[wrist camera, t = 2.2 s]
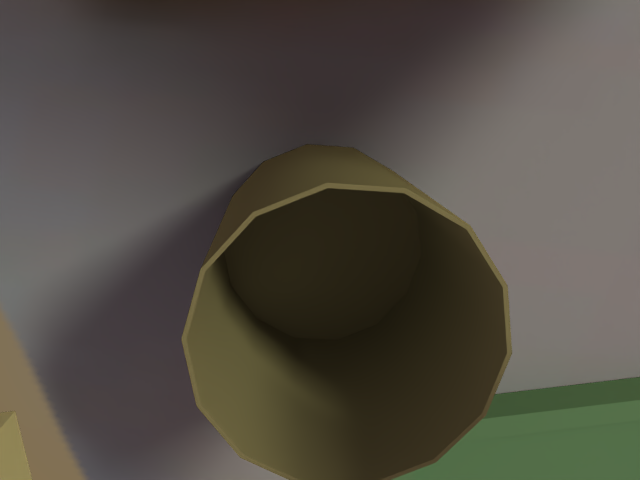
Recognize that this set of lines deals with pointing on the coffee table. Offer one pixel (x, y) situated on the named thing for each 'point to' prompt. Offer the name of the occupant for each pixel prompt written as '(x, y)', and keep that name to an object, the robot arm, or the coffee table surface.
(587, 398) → the tray
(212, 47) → the coffee table surface
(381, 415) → the cup
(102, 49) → the coffee table surface
